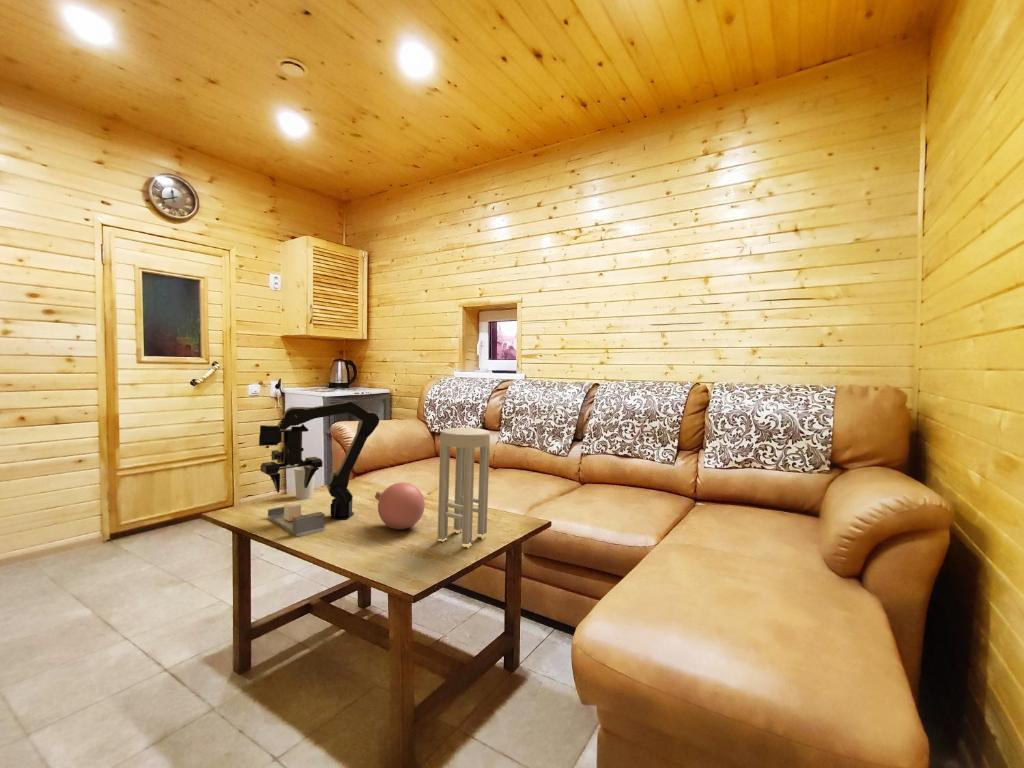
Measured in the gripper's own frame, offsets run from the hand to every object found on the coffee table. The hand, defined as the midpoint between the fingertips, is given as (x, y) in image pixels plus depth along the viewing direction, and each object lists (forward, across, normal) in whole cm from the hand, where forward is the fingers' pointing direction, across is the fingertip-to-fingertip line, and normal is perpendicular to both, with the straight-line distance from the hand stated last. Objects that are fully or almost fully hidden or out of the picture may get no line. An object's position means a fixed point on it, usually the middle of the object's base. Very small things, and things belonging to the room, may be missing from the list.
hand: (292, 490), depth 163 cm
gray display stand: (+11, 0, +3) cm, 11 cm away
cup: (+11, -16, -26) cm, 32 cm away
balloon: (+11, -24, +27) cm, 38 cm away
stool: (+11, -34, +50) cm, 61 cm away
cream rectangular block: (+10, 0, +3) cm, 10 cm away
